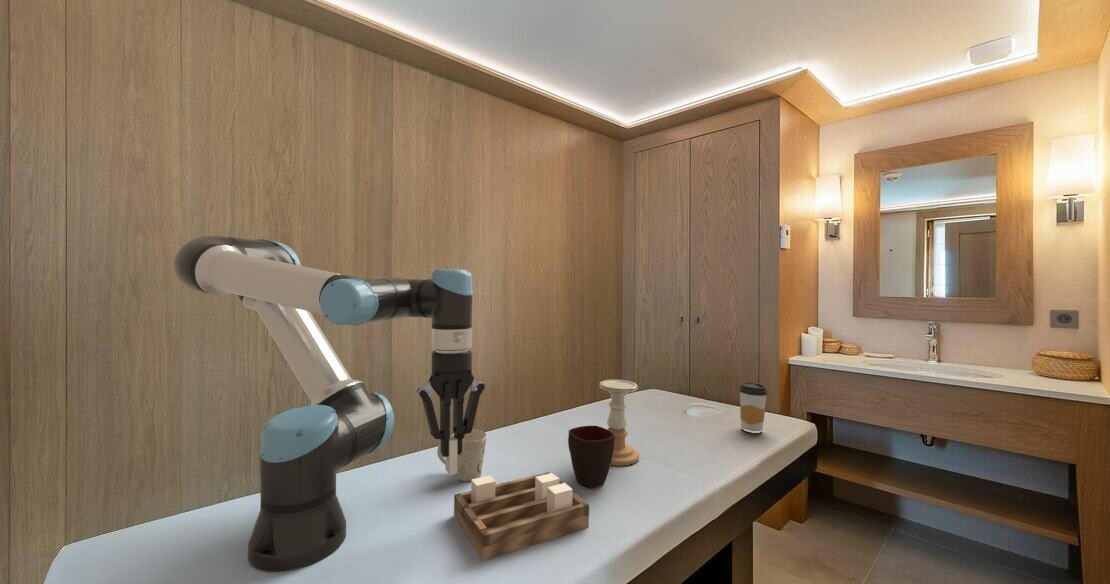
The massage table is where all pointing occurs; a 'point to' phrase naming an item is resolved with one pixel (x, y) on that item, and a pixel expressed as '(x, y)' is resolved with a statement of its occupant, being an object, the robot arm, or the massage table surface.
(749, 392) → the coffee cup
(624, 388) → the candle holder
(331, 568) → the massage table surface
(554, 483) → the tab mid
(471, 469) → the mug
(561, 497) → the tab near
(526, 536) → the wooden compartment tray
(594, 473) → the mug
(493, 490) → the tab far
